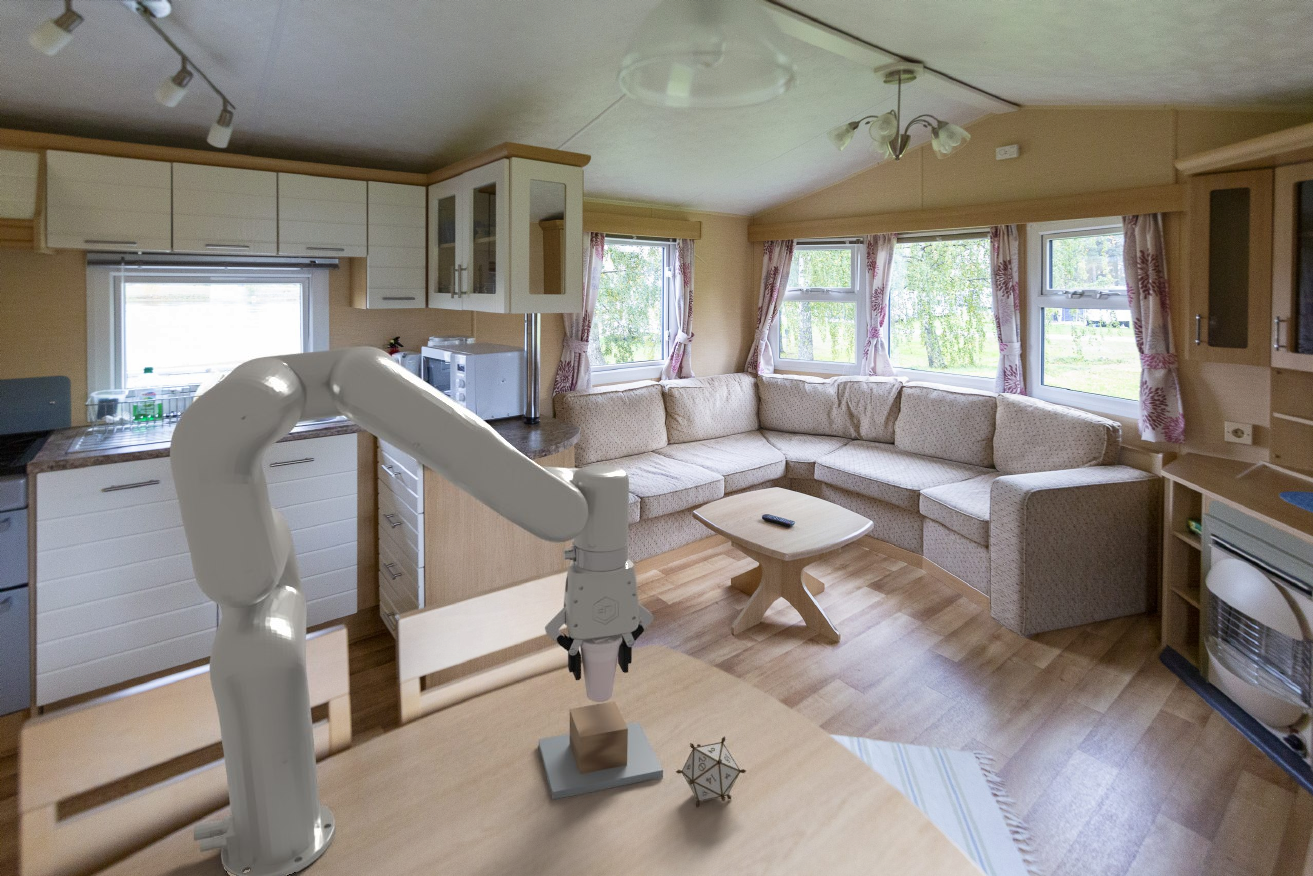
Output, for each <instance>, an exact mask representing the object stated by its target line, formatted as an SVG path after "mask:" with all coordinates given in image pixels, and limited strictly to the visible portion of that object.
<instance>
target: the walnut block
mask: <svg viewBox="0 0 1313 876" xmlns="http://www.w3.org/2000/svg"><path fill="white" fill-rule="evenodd" d="M626 724H627V723H626V722H625V720H624V718H623V716H622V713H621V711H620V708H619V707H618V705H617V702H616V701H615V700H614V701H610V702H609V701H607V702H601V703H598V704H596V703H595V704H591V705H585V706H580V707H573V708H569V734H570V747H571V750H572V753H573V756H574V759H575V762H576V765H577V768H578V770H579V773H580V774H585V773H590V772H595V771H600V770H605V769H610V768H615V767H620V766H625V765H627V746H628V728H627V726H626Z"/></svg>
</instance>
